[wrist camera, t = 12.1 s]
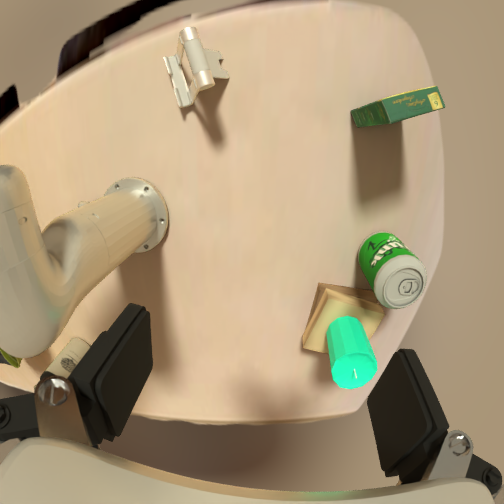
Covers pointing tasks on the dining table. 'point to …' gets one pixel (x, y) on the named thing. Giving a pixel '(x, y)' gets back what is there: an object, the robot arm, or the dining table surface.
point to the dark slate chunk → (3, 359)
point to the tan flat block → (354, 292)
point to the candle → (350, 353)
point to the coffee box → (399, 107)
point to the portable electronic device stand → (193, 67)
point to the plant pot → (11, 359)
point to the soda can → (391, 270)
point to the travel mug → (67, 359)
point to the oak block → (334, 308)
